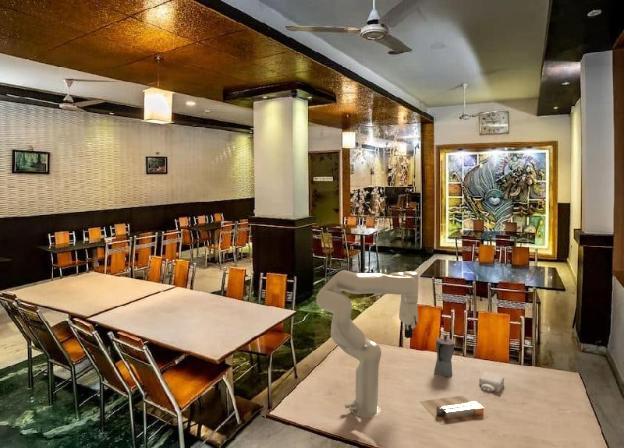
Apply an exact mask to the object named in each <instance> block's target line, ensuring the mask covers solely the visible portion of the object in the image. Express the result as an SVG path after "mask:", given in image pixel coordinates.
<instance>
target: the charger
mask: <svg viewBox="0 0 624 448" xmlns="http://www.w3.org/2000/svg"><path fill="white" fill-rule="evenodd" d="M478 384H479V385H480V388H481V389H482V390H483V391H487V392H497V393H500V391H501V390H502V388H503V386H504V384H505V377H504V376H503V375H501V374H497V373H495V372H494V373H493V372H490V371H484V372H483V374H482V375H481V376H480V378H479V382H478Z"/></svg>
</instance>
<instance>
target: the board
mask: <svg viewBox="0 0 624 448" xmlns="http://www.w3.org/2000/svg"><path fill="white" fill-rule="evenodd" d="M418 402H419V403H420V404H421V405H422V407H424V408H425V409H426V410H427V411H428V413H429V414H430V415H431V416H432V417H433V418H434V419H435V420H436V421H437V422H438V423H439V424H440V425H448V424H455V423H460V422H461V423H463V422H468V421H473V420H481V419H486V418H489V416H488V415H487V414H485V413H484V414H483V415H477V416H475V415H471V416H464V417H458V418H451V419H446V418H445V417H444V416H443V417H439V416H437V415H436V410H437V407H438V406H440V407H444V406H451V405H459V404H466V403H468V402H471V401H470V400H469V399H468V398H466V397H465V395H455V396H450V397H443V398H435V399H428V400H421V401H418Z"/></svg>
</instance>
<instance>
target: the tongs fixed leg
mask: <svg viewBox="0 0 624 448" xmlns="http://www.w3.org/2000/svg"><path fill="white" fill-rule="evenodd" d="M484 409H485V407H483V406H482V404H479V405H475V406H470V407H463V408H456V409H449V410H445V412H444V417H445V418H446V419H451V418H458V417H464V416H471V415H475V416H477V415H483V414H485V413H484V412H485V410H484Z"/></svg>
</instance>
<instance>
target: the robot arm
mask: <svg viewBox="0 0 624 448" xmlns="http://www.w3.org/2000/svg"><path fill="white" fill-rule="evenodd" d="M343 291H344V292H346V293H349V294H352V295H362V294H363V295H367V294H382V295H399V296H400V304H399V314H398V319H399V320H400V321H401V322H402V323H403V328H404V338H405V339H412V338H413V330H414V329H416V326H417V325H418V322H419V313H418V312H419V311H418V303H419V273H417V272H416V271H413V270H409V271H408V270H406V271H402V272H391V273H389V274H385V273H380V272H355V271H354V272H353V271H350V270H345V269H343V270H340V271H338V272H337V273H336V274H334V275H333V276H332V277H331V278H330V279H329V280H328V281H327V282H326V284H324V285H323V286H322V287H321V289H320V290H319V291H318V293H317V295H316V299H315V303H316V304H317V306H318V307H319V308H320V309H321V310H324V311H327V312H328V313H330V314H332V318H331V323H330V324H331V325H330V327H331V329H330V338H331V340H332V342H334V344H336V345H337V346H338V347H339V349H341V350H342V351H343V352H344V353H346V354H347V355H348V356H350V357H352V358H354V359H356V360H358V361H359V364H358V366H357V367H356V370H355V398H354V399H353V401H351V403H347V402H346V403H344V408H345V409H349V411H351V412H352V414H353V415H354V416H355V417H357V418H359V419H360V418H361V417H363V418H373V417H376V416H378V415H379V416H380V414H381V412H382V408H381V406H380V405H379V369H380V368H379V367H380V361H381V357H382V349H381V347H380V345H379V344H378V343H377V342H375V341H374V340H371V339H368V338H367V337H366V336H365V333H364V332H363V331H362V330H361V328H359V327H358V326H357V324H355V323H354V322H353V321H352V319H351V314H352V309H353V306H352V305H353V304H352V301H351V299H350V297H349V296H347V295H346V294H344V293H342V292H343Z"/></svg>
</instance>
